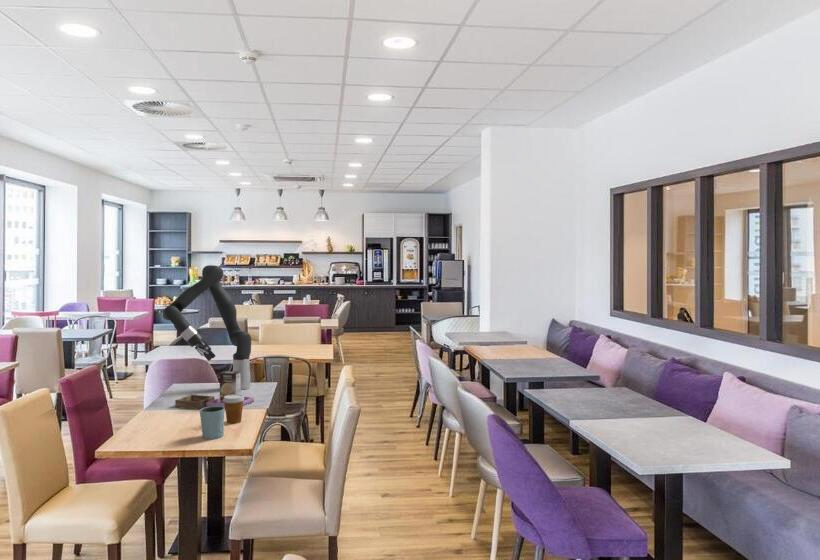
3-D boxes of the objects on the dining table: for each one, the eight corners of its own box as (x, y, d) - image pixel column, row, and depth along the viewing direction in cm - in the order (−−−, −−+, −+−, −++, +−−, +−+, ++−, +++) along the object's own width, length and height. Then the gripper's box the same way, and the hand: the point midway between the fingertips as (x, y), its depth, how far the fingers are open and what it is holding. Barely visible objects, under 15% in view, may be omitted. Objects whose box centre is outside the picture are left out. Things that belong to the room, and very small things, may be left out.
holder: (191, 401, 316) (191, 394, 315) (214, 403, 311) (214, 396, 311) (175, 407, 303) (175, 400, 303) (198, 409, 299) (198, 402, 299)
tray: (225, 399, 319) (225, 395, 319) (253, 402, 314) (253, 397, 314) (206, 407, 302) (206, 402, 302) (235, 410, 297) (235, 405, 297)
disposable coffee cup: (218, 423, 274) (218, 397, 274) (233, 418, 283) (233, 393, 282) (234, 425, 270) (233, 399, 269) (249, 420, 278) (248, 395, 278)
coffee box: (219, 404, 306) (218, 373, 305) (224, 400, 312) (224, 370, 311) (236, 404, 304) (235, 373, 304) (241, 401, 311) (240, 371, 310)
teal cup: (229, 436, 255) (229, 408, 254) (207, 441, 247) (207, 413, 247) (217, 431, 261) (216, 404, 261) (195, 436, 254) (195, 409, 253)
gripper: (200, 329, 314) (220, 352, 316) (194, 333, 325) (214, 355, 328) (188, 338, 310) (210, 361, 312) (183, 342, 321) (203, 365, 324)
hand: (212, 358), depth 320 cm, fingers open, 8 cm apart
